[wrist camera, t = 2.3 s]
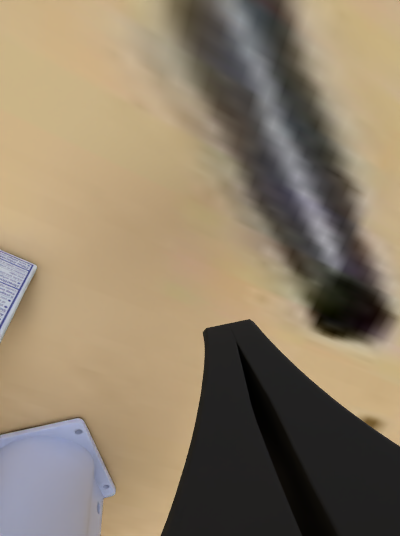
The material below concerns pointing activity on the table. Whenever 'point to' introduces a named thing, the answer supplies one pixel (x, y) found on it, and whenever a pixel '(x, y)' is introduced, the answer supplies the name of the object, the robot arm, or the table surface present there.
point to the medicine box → (12, 286)
